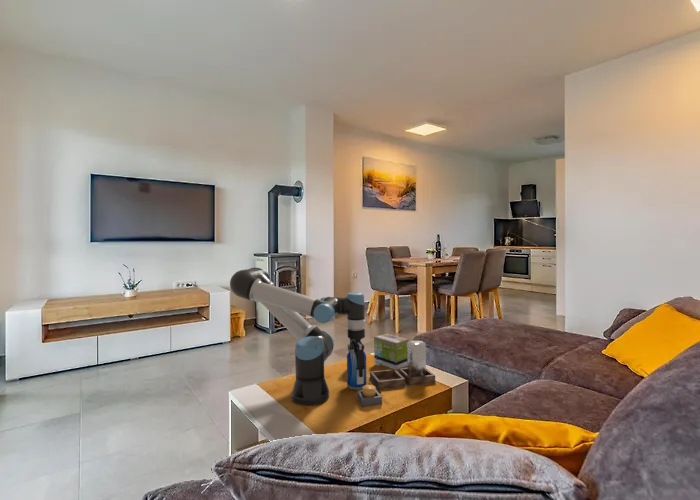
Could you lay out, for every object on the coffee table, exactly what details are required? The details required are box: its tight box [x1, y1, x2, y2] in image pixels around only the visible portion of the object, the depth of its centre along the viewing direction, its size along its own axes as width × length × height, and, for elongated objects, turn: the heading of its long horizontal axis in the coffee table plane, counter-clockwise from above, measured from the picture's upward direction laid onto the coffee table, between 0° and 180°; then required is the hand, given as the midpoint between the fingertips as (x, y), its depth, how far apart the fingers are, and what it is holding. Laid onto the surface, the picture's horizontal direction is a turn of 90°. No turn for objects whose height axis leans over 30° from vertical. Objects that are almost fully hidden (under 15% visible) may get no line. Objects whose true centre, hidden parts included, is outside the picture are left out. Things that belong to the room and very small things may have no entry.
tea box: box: [373, 333, 410, 371], centre depth 180 cm, size 15×10×15 cm
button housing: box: [356, 389, 383, 408], centre depth 142 cm, size 8×8×3 cm
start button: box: [362, 384, 376, 398], centre depth 142 cm, size 5×5×3 cm
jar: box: [346, 343, 366, 355], centre depth 177 cm, size 9×8×12 cm
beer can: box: [346, 348, 368, 391], centre depth 156 cm, size 8×8×16 cm
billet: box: [407, 340, 427, 377], centre depth 160 cm, size 8×8×16 cm
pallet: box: [368, 367, 437, 395], centre depth 158 cm, size 26×14×4 cm, turn 104°
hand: (356, 378), depth 156 cm, fingers open, 10 cm apart
